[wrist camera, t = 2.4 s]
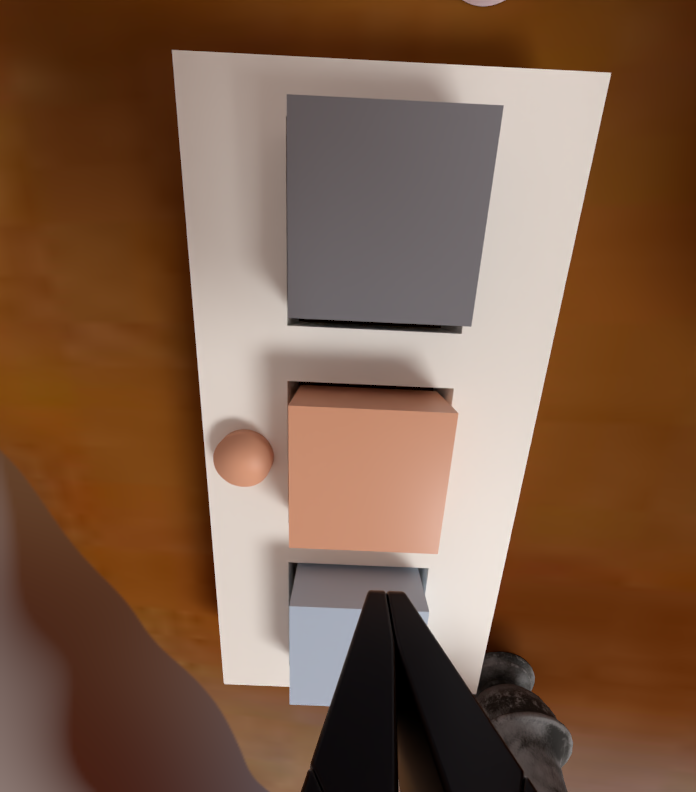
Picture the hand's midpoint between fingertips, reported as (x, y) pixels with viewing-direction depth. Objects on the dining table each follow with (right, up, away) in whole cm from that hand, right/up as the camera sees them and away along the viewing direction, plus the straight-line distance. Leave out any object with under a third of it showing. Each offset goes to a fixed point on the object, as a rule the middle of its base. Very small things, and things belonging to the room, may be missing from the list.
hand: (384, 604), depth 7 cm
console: (0, +3, +10) cm, 10 cm away
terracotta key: (0, +2, +8) cm, 8 cm away
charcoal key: (0, +11, +5) cm, 12 cm away
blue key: (0, -6, +10) cm, 12 cm away
